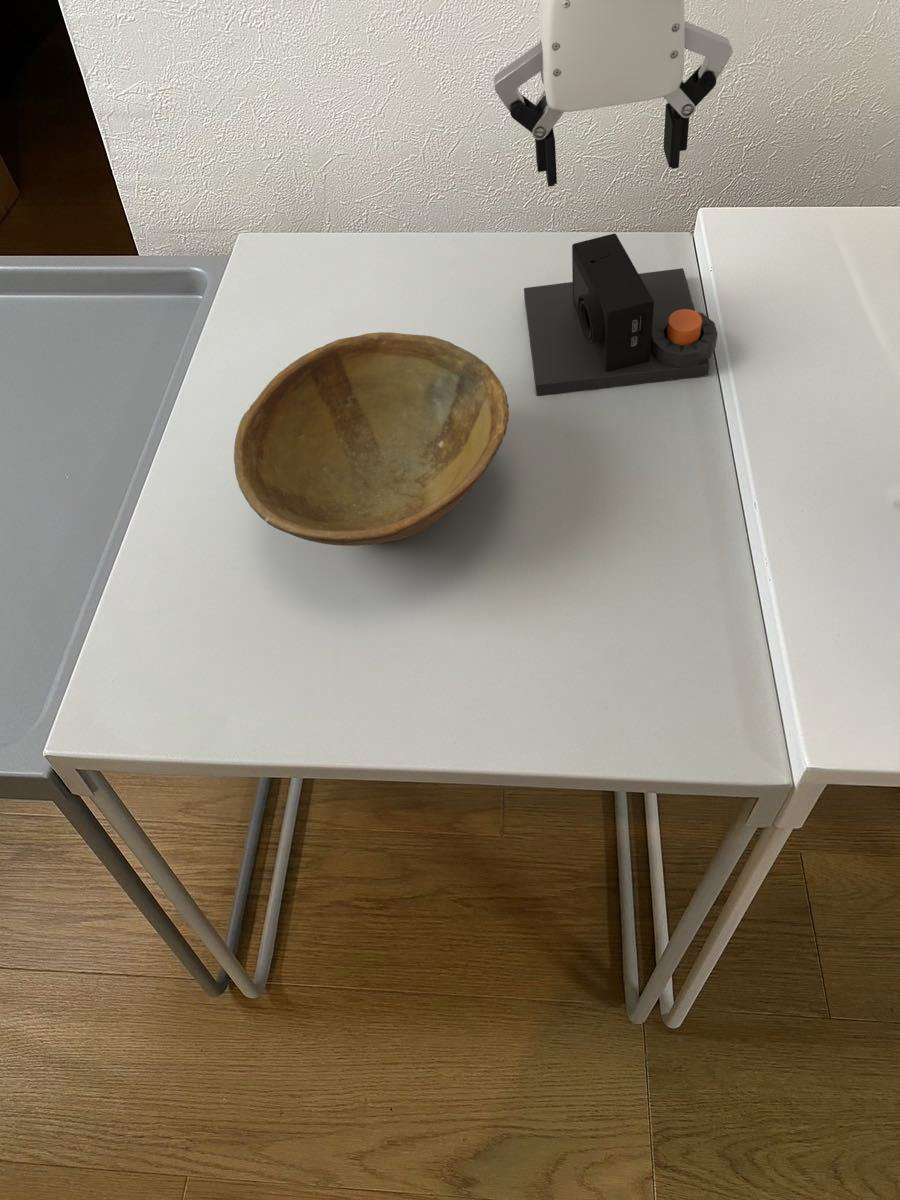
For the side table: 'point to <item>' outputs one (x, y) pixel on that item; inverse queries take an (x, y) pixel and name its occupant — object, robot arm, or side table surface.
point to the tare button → (684, 327)
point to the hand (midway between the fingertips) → (610, 167)
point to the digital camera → (611, 302)
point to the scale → (575, 362)
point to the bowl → (369, 438)
